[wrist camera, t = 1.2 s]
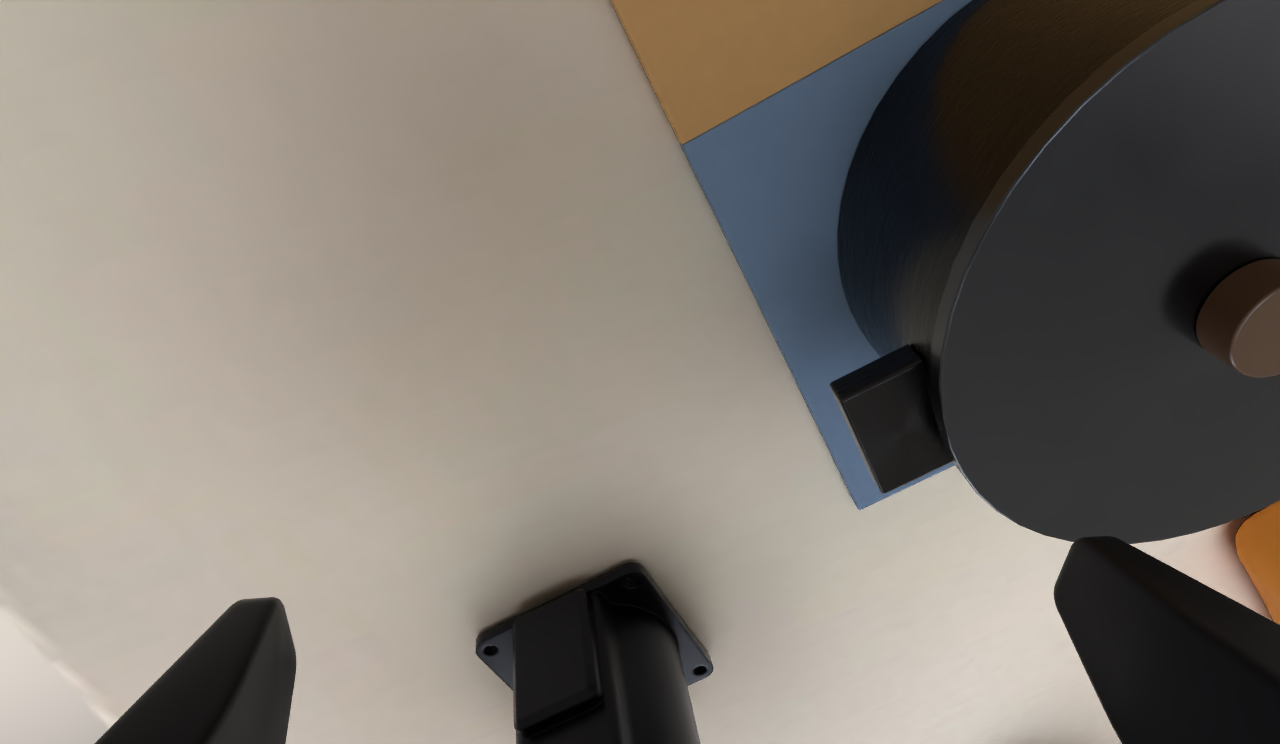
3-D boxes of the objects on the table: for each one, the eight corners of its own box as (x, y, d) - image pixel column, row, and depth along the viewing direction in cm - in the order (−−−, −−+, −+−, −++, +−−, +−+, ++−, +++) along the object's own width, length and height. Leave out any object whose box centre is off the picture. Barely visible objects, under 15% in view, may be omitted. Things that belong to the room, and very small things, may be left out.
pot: (1353, 250, 24) (1654, 382, 18) (861, 486, 26) (974, 678, 20) (1359, -231, 17) (1847, -293, 11) (696, 137, 20) (789, 260, 13)
